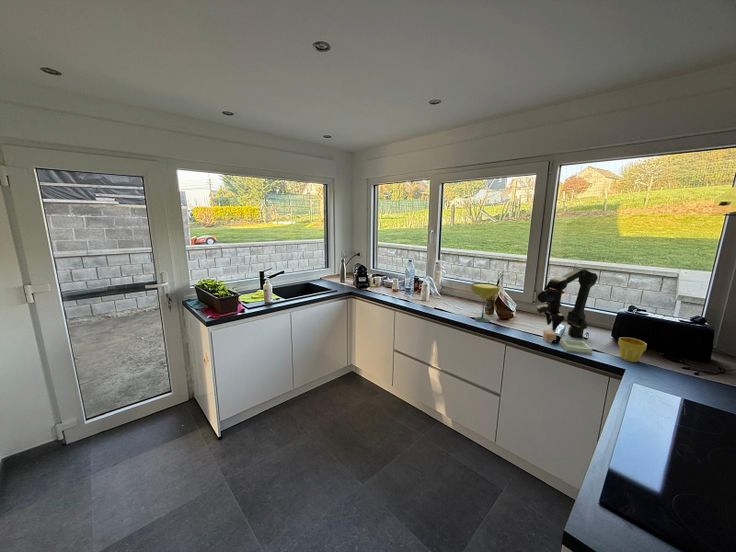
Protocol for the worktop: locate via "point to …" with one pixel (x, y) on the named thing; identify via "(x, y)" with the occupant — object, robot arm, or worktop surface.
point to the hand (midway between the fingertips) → (550, 327)
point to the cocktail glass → (484, 295)
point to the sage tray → (575, 346)
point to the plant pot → (631, 348)
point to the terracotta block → (549, 336)
